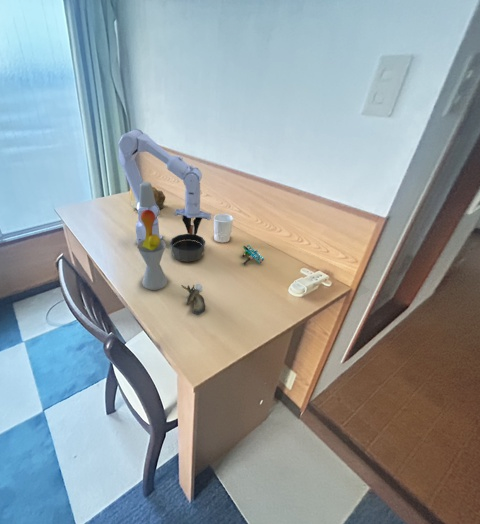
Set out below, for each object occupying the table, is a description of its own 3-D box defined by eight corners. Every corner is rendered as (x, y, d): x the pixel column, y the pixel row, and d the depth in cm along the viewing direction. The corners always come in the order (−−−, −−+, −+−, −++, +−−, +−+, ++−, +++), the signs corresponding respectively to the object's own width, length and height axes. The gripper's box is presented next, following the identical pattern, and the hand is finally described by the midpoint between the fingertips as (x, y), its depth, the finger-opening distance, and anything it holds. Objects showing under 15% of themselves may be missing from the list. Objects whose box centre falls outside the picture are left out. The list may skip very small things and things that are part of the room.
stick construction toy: (268, 261, 102) (257, 246, 99) (255, 274, 102) (243, 260, 99) (252, 253, 113) (241, 239, 110) (239, 265, 113) (228, 252, 111)
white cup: (230, 244, 118) (232, 222, 112) (211, 242, 119) (212, 221, 114) (231, 235, 124) (233, 214, 118) (213, 233, 126) (214, 213, 120)
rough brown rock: (174, 213, 147) (175, 185, 139) (145, 219, 139) (144, 189, 132) (154, 201, 164) (153, 175, 157) (127, 205, 157) (125, 178, 149)
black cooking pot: (201, 264, 105) (202, 246, 100) (167, 260, 107) (165, 243, 103) (208, 242, 117) (208, 226, 113) (176, 239, 120) (176, 223, 116)
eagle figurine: (175, 295, 90) (181, 310, 82) (185, 276, 88) (193, 290, 80) (194, 303, 93) (202, 318, 85) (205, 285, 91) (214, 299, 83)
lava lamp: (136, 283, 98) (122, 184, 78) (154, 271, 103) (145, 176, 84) (155, 293, 93) (145, 191, 73) (173, 280, 98) (168, 181, 79)
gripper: (171, 203, 107) (172, 234, 114) (207, 208, 102) (206, 240, 110) (178, 196, 112) (178, 227, 120) (213, 201, 107) (211, 232, 115)
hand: (192, 233), depth 115 cm, fingers closed
